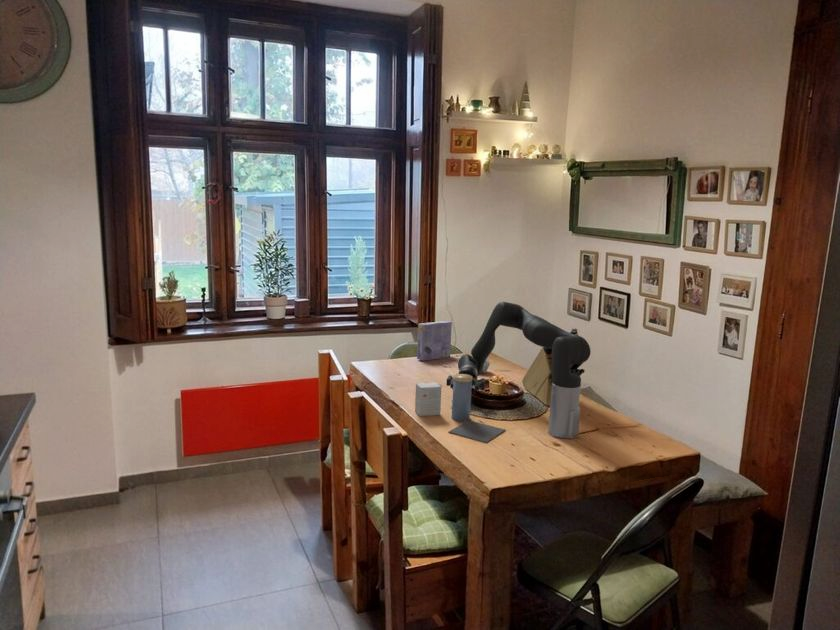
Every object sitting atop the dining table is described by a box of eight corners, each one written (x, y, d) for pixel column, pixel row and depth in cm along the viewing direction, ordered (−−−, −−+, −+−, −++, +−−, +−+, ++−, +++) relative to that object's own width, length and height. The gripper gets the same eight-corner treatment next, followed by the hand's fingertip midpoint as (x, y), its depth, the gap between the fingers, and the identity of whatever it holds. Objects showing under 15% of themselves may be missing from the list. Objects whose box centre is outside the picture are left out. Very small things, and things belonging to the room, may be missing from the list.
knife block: (555, 415, 229) (562, 332, 224) (521, 386, 263) (526, 314, 258) (583, 414, 232) (591, 332, 226) (546, 386, 266) (552, 314, 260)
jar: (473, 417, 223) (475, 376, 220) (464, 422, 217) (466, 380, 214) (457, 413, 226) (459, 372, 223) (447, 418, 221) (450, 376, 218)
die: (483, 377, 277) (495, 359, 279) (467, 366, 278) (479, 348, 280) (481, 378, 285) (492, 361, 287) (465, 368, 286) (476, 350, 288)
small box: (435, 409, 229) (436, 381, 228) (440, 414, 224) (442, 386, 222) (414, 411, 227) (415, 383, 225) (419, 416, 222) (420, 387, 220)
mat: (505, 430, 211) (505, 429, 211) (486, 443, 200) (486, 441, 200) (469, 421, 219) (469, 420, 219) (448, 432, 207) (448, 431, 207)
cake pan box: (445, 354, 313) (447, 319, 310) (452, 356, 309) (454, 321, 306) (415, 359, 301) (417, 323, 298) (422, 361, 297) (424, 325, 294)
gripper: (450, 365, 247) (445, 376, 231) (486, 368, 245) (484, 379, 229) (449, 383, 248) (444, 395, 232) (485, 386, 246) (483, 399, 230)
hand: (464, 387), depth 231 cm, fingers open, 8 cm apart
